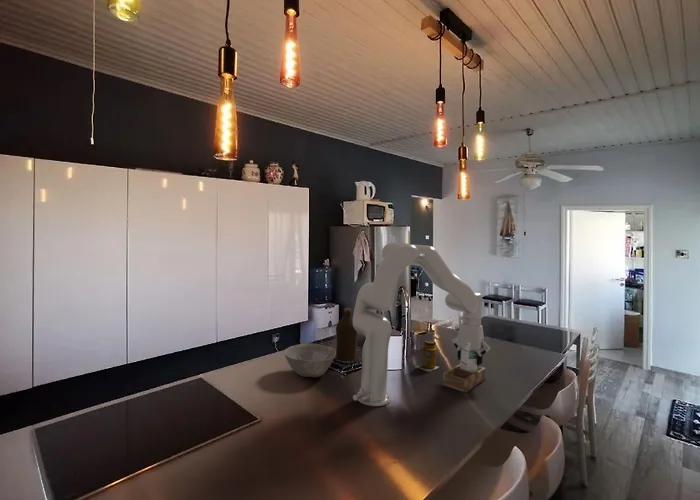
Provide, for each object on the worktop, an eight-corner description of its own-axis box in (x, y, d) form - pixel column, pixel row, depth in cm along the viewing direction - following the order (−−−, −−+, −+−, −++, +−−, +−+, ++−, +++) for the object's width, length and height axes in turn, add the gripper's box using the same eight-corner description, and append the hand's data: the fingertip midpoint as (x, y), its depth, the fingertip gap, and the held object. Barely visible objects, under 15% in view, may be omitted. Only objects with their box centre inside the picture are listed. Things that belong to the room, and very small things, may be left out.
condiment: (439, 367, 176) (440, 342, 175) (428, 371, 170) (429, 345, 169) (426, 363, 181) (427, 338, 180) (415, 367, 175) (416, 341, 174)
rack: (465, 392, 149) (466, 380, 148) (442, 385, 155) (443, 373, 155) (485, 379, 163) (485, 368, 163) (463, 373, 170) (463, 362, 169)
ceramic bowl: (311, 390, 147) (312, 364, 146) (271, 374, 161) (272, 351, 160) (346, 373, 164) (347, 351, 164) (308, 361, 178) (308, 340, 178)
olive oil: (360, 358, 184) (361, 307, 183) (352, 365, 174) (354, 312, 173) (339, 355, 188) (341, 305, 186) (331, 362, 178) (332, 309, 176)
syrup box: (466, 377, 159) (468, 343, 158) (459, 372, 164) (461, 339, 164) (478, 376, 160) (480, 342, 159) (470, 371, 166) (472, 338, 165)
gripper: (448, 318, 164) (446, 358, 165) (488, 326, 153) (486, 369, 153) (456, 316, 170) (454, 355, 171) (495, 323, 158) (493, 365, 159)
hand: (469, 361), depth 162 cm, fingers closed on syrup box, 7 cm apart
